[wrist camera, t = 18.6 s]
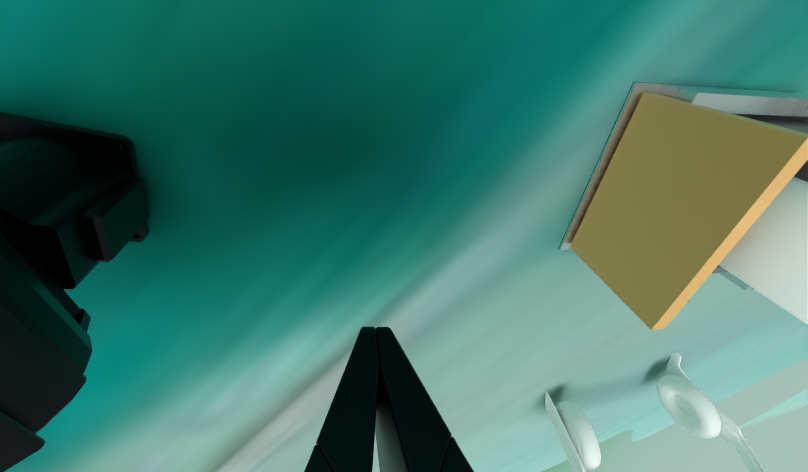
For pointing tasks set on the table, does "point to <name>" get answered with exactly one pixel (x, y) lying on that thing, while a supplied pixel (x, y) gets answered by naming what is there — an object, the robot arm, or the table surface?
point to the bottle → (777, 251)
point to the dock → (712, 97)
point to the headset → (679, 402)
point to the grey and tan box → (683, 198)
